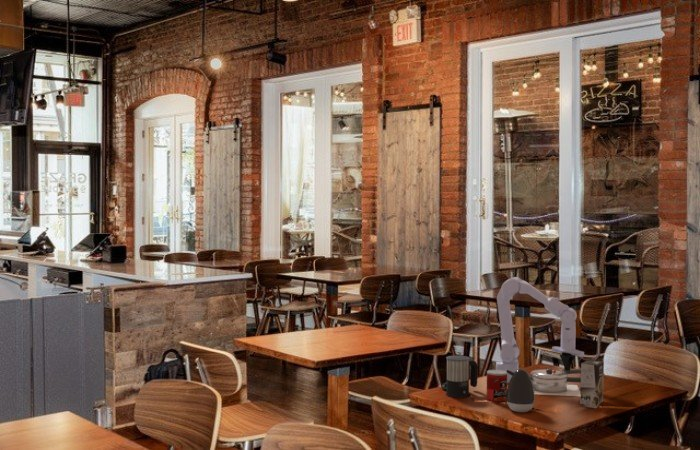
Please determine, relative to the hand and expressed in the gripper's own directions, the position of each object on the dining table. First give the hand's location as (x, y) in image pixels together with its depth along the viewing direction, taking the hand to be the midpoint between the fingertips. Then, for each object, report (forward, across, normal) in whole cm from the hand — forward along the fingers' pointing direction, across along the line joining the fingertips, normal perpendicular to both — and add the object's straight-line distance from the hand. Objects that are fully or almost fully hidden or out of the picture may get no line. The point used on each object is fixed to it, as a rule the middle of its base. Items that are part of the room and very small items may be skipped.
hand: (567, 371), depth 335 cm
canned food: (+7, -3, -38) cm, 39 cm away
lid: (0, 0, -6) cm, 6 cm away
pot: (+6, +1, -8) cm, 10 cm away
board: (+7, 0, -8) cm, 11 cm away
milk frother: (+7, -21, -43) cm, 48 cm away
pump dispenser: (+7, +13, -42) cm, 45 cm away
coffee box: (+7, +22, -14) cm, 27 cm away
